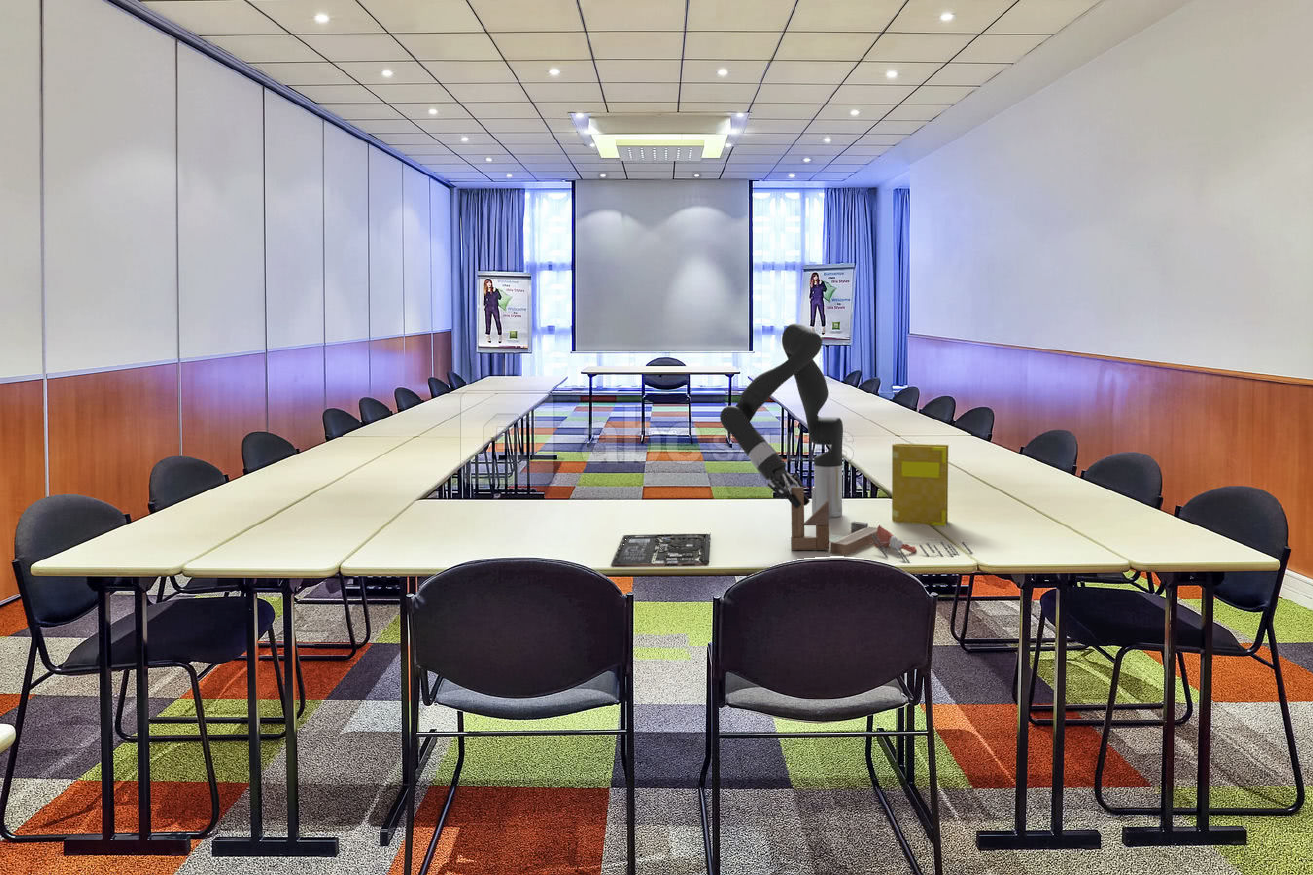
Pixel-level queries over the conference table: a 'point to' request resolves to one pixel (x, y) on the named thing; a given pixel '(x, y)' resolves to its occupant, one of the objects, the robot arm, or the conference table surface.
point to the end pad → (834, 537)
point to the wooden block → (817, 518)
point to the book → (920, 484)
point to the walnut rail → (854, 539)
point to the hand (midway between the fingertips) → (803, 504)
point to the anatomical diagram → (887, 538)
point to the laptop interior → (663, 550)
